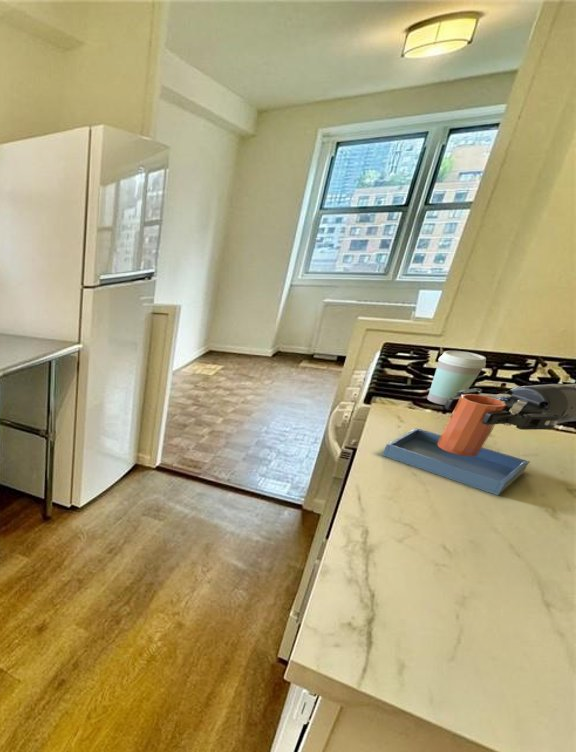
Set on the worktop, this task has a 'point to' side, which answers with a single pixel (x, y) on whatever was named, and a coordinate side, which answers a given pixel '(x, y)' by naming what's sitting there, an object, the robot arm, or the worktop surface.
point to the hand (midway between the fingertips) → (466, 411)
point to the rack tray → (456, 462)
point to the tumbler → (469, 425)
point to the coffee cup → (454, 374)
